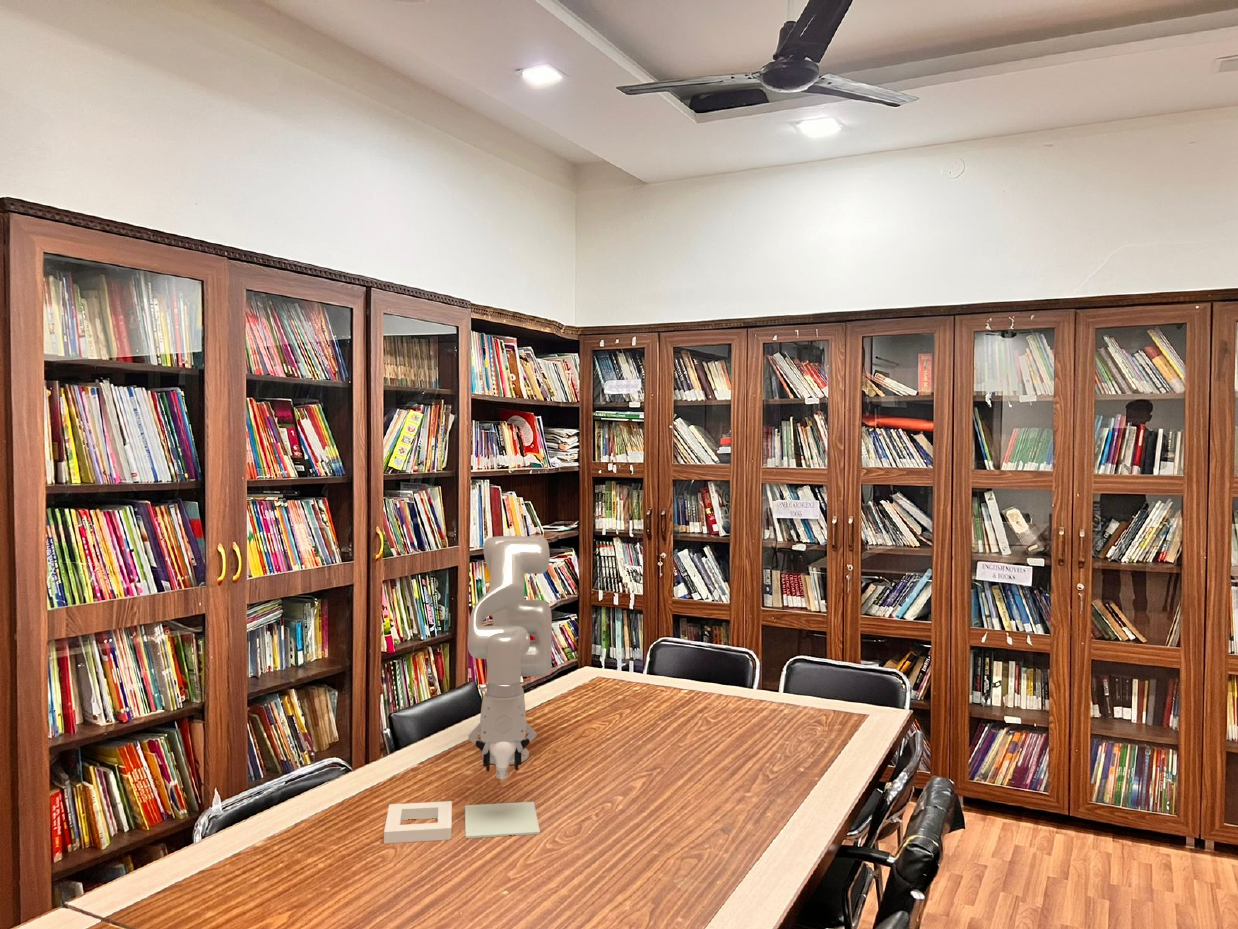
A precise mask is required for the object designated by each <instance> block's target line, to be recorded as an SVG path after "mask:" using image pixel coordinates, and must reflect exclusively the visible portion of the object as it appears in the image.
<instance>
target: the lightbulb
mask: <svg viewBox="0 0 1238 929" xmlns="http://www.w3.org/2000/svg"><path fill="white" fill-rule="evenodd" d="M516 748H517V747H516V743H515V742H507V741H503V742H496V743H491V744H490V747H489V751H490V753H491V755H492V756H493V758H494V761H495V764H494V765H495V767H496V768H495V770H496V771H495V777H496V779H498V780H501V781H504V780H505V779H507V778H508V777H509V766H510V765H509V764H510V759H511V757H512V756H513V754H514V753H515V751H516Z"/></svg>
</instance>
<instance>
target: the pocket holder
mask: <svg viewBox="0 0 1238 929" xmlns="http://www.w3.org/2000/svg"><path fill="white" fill-rule="evenodd" d="M452 807H453V801H452V800H447V801H431V802H429V801H428V802H411V803H410V802H409V803H395V804H394V803H391V804H390V803H389V804H388V809H387V814H386V821H385V824H384V829H383V844H384V845H387V844H401V843H417V842H430V841H431V842H432V841H448V840H449V841H450V839H451V840H452V822H453V820H452V819H453V818H452V817H453V811H452V810H453V808H452ZM432 818H433V819H437V822H428V823H413V824H412V823H411V824H408V823H407V824H402V823H403V822H402V821H411V819H416V820H430V819H432ZM408 819H410V820H408ZM401 822H402V823H401Z"/></svg>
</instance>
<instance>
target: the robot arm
mask: <svg viewBox="0 0 1238 929" xmlns="http://www.w3.org/2000/svg"><path fill="white" fill-rule="evenodd" d="M483 543H484V544H483V556H484V560H485V564H486V567H487V569H488V571H489V574H490V580H489V591H488V592H486V593H485V594H484V595H483V596H482V597H481V598H480V599H479V600H478V601H477V603H475V605H474V607H473V608H472V611H471V613H470V616H469V622H468V632H467V633H468V634H467V649H468V653H469V654H470V656H471V657H473V658H475V659H477V660H478V659H479V660H486V682H485V683H483V684H480V685H479V686H480V687H479V688H480V690H479V691H483V692H485V694H483V697H482V702H481V709H480V718H479V720H480V721H479V724H477V725H476V727H475V728H474V729H473V730H472V731H471V732H470V733H469V734H468V740H469V741H471V743H472V744H474V745H475V747H476V748H478V749H479V750H480V751H481V752H482V753H481V758H482V760H483V761H482V766H483V768H486V769H485V770H486V771H485V772H490V770H491V768H490V767H491V765H495V761H494V758H493V756H492V755H491V753H490V751H489V747H490V744H491V743H496V742H503V741H507V742H515V743H516V747H517V748H516V751H515V753H514V754H513V756H512V757H511V759H510V764H509V766H511V765H514V770H515V771H519V766H522V763H524V762H526V761H527V760H528V759H529V758H530V751H529V750H528V749H527V746H529V744H530V743H531V742H532V741H533V740H535V738H536V737H537V732H536V730H534V729H533V727H531V725H530V724H529V723H528V722H527V716H526V711H527V710H526V702H525V692H524V691H525V690H524V688H523V686H522V685H521V677H524V678H525V677H544V676H547V675H548V674H549V673H550V670H551V668H552V659H553V658H552V651H553V649H552V648H553V647H552V644H553V643H552V635H553V634H552V633H553V632H552V630H553V627H552V626H553V624H552V622H553V621H552V620H553V619H552V617H553V616H552V610H551V607H550V604H549V603H548V602H546V601H545V600H542V599H526V598H525V586H526V585H525V583H526V582H525V580H526V579H525V574H529V575H531V574H535V575H536V574H537V575H539V574H545V573H546V572H547V571H548V569H549V566H550V565H549V564H550V559H551V558H550V554H551V553H550V546H549V542H548V540H547V539H546V538H545V537H543V536H533V535H531V536H525V535H524V536H522V535H521V536H519V535H500V536H497V535H496V536H492V537H489V538H488V539H487V538H486V540H485V541H484V542H483ZM491 615H492V625H482V623H483V622H484V621H485V620H486V619H487V618H488V617H489V616H491ZM530 636H532V637H534V639H533V640H531V637H530ZM526 734H527V736H526ZM478 735H479V736H480V739H479V738H478V737H477V736H478Z"/></svg>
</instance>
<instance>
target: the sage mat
mask: <svg viewBox="0 0 1238 929" xmlns="http://www.w3.org/2000/svg"><path fill="white" fill-rule="evenodd" d="M464 818H465V819H464V820H465V821H464V825H465V827H464V828H465V829H464V831H465V833H464V834H465V837H464V838H468V839H479V838H480V839H482V838H483V839H484V838H496V837H497V836H500V837H510V836H509V835H512V836H511V837H514V836H513V835H517V836H530V835H541V830H540V826H539V821H538V815H537V809H536V806H535V802H534V801H520V802H503V803H502V802H501V803H484V804H481V803H480V804H468V805H467V804H466V805H464ZM497 838H498V837H497Z"/></svg>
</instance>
